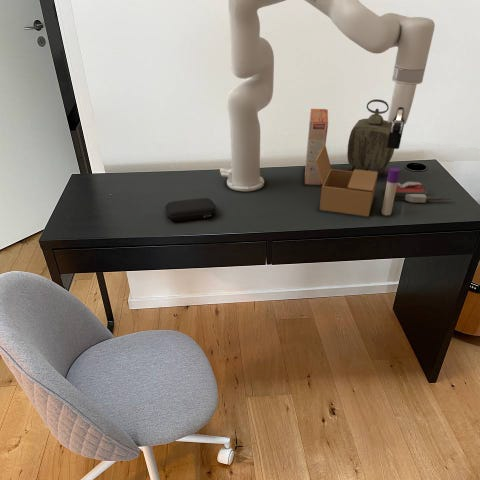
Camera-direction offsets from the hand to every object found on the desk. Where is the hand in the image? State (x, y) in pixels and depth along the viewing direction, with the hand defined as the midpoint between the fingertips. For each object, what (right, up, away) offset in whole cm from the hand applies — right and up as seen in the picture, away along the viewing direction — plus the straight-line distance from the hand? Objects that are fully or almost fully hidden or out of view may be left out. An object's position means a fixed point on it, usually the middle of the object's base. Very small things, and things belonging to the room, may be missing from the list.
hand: (394, 141), depth 137 cm
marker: (+2, -17, +13) cm, 22 cm away
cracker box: (-17, 0, +35) cm, 39 cm away
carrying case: (-57, -17, +14) cm, 62 cm away
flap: (-17, -2, +13) cm, 22 cm away
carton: (-9, -13, +18) cm, 24 cm away
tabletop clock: (+1, +1, +35) cm, 35 cm away
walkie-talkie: (+13, -10, +22) cm, 27 cm away
